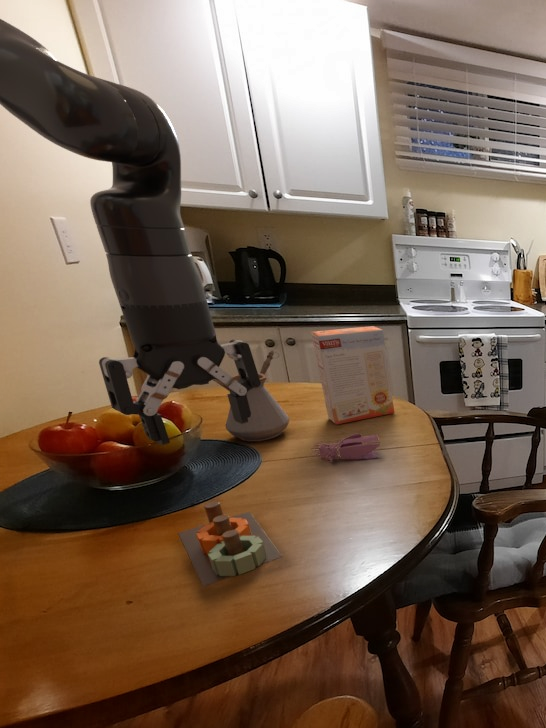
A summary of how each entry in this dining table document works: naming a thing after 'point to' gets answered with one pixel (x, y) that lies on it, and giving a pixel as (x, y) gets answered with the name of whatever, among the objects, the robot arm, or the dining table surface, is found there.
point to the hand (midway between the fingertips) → (204, 431)
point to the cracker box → (353, 373)
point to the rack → (230, 541)
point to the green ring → (238, 557)
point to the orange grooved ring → (211, 539)
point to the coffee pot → (260, 412)
